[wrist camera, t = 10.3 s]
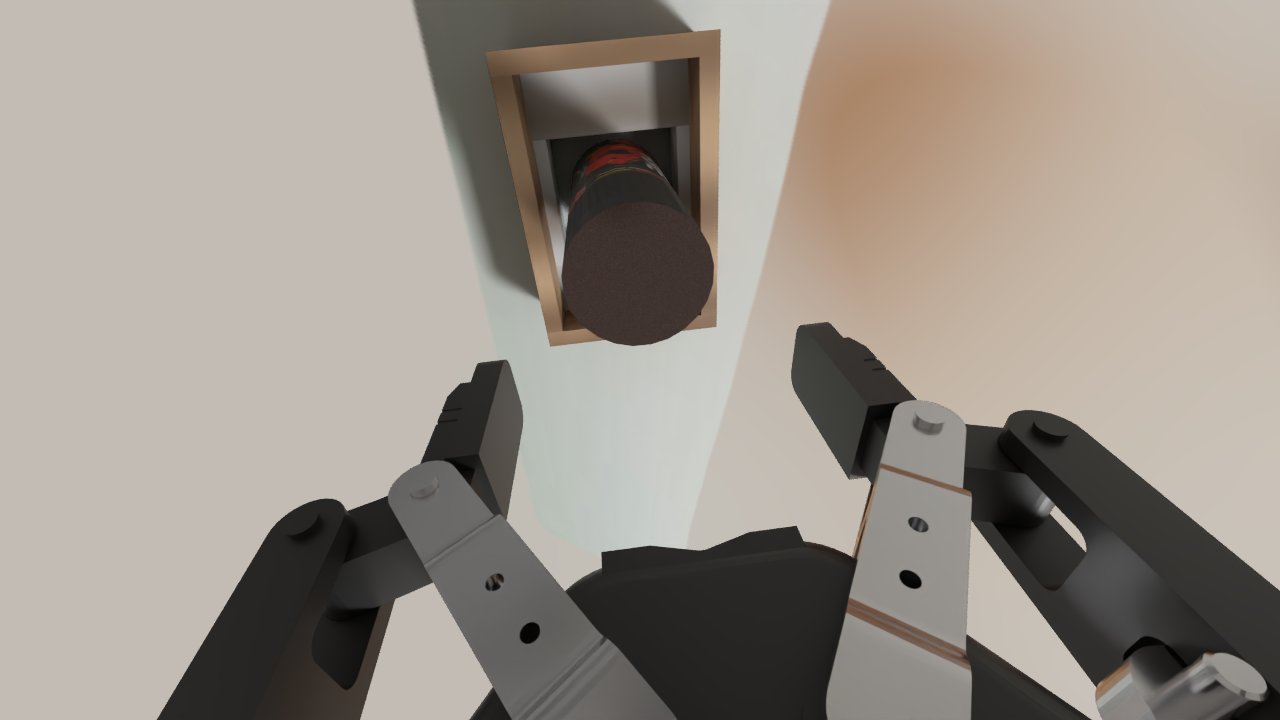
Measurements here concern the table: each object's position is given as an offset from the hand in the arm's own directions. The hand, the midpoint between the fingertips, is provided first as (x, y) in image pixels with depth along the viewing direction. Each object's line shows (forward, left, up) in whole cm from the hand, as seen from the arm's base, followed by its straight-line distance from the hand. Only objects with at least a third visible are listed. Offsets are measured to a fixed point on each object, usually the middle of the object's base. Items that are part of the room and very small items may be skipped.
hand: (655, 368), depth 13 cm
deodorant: (0, 0, -21) cm, 21 cm away
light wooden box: (0, 0, -21) cm, 21 cm away
